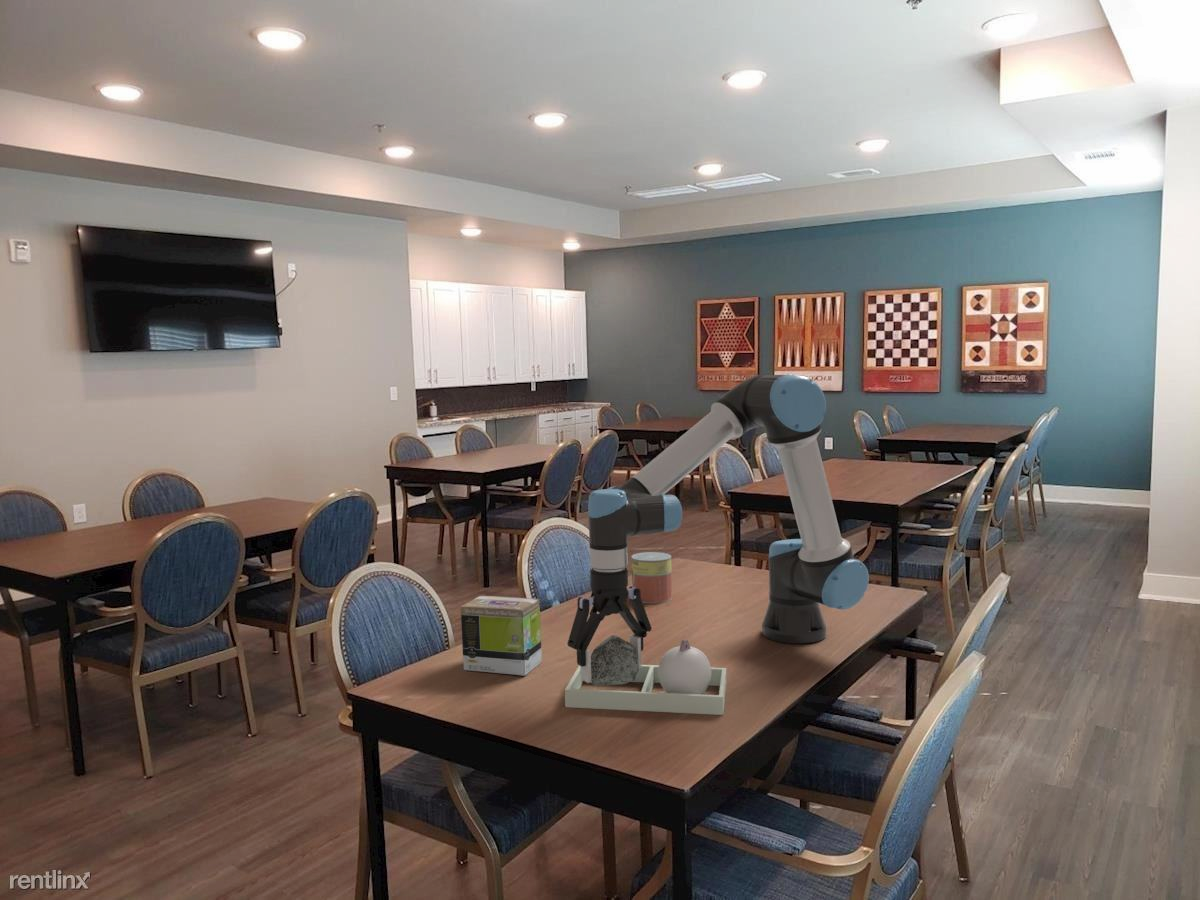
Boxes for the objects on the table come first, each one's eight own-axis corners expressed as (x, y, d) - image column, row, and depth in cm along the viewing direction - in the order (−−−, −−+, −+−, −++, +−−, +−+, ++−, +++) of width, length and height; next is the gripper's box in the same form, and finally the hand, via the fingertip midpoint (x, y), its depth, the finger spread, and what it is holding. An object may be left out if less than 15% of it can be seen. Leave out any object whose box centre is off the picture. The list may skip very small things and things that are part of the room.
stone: (612, 639, 170) (621, 622, 180) (575, 669, 173) (586, 651, 182) (644, 676, 170) (652, 657, 180) (607, 706, 172) (616, 686, 182)
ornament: (697, 711, 167) (696, 650, 166) (650, 701, 172) (648, 642, 171) (719, 693, 175) (719, 635, 174) (673, 684, 181) (673, 627, 180)
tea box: (543, 662, 196) (541, 597, 195) (524, 677, 187) (522, 610, 185) (482, 656, 201) (480, 593, 200) (461, 671, 192) (459, 605, 190)
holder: (726, 684, 180) (726, 668, 180) (723, 715, 165) (723, 697, 164) (581, 678, 186) (580, 662, 185) (565, 707, 170) (564, 689, 170)
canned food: (634, 592, 253) (633, 551, 252) (673, 593, 252) (672, 551, 251) (630, 603, 242) (629, 560, 241) (671, 603, 241) (670, 560, 240)
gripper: (645, 555, 184) (647, 656, 186) (547, 573, 170) (550, 682, 173) (667, 561, 178) (669, 666, 180) (568, 581, 164) (571, 693, 166)
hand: (611, 674), depth 176 cm, fingers closed on stone, 12 cm apart
